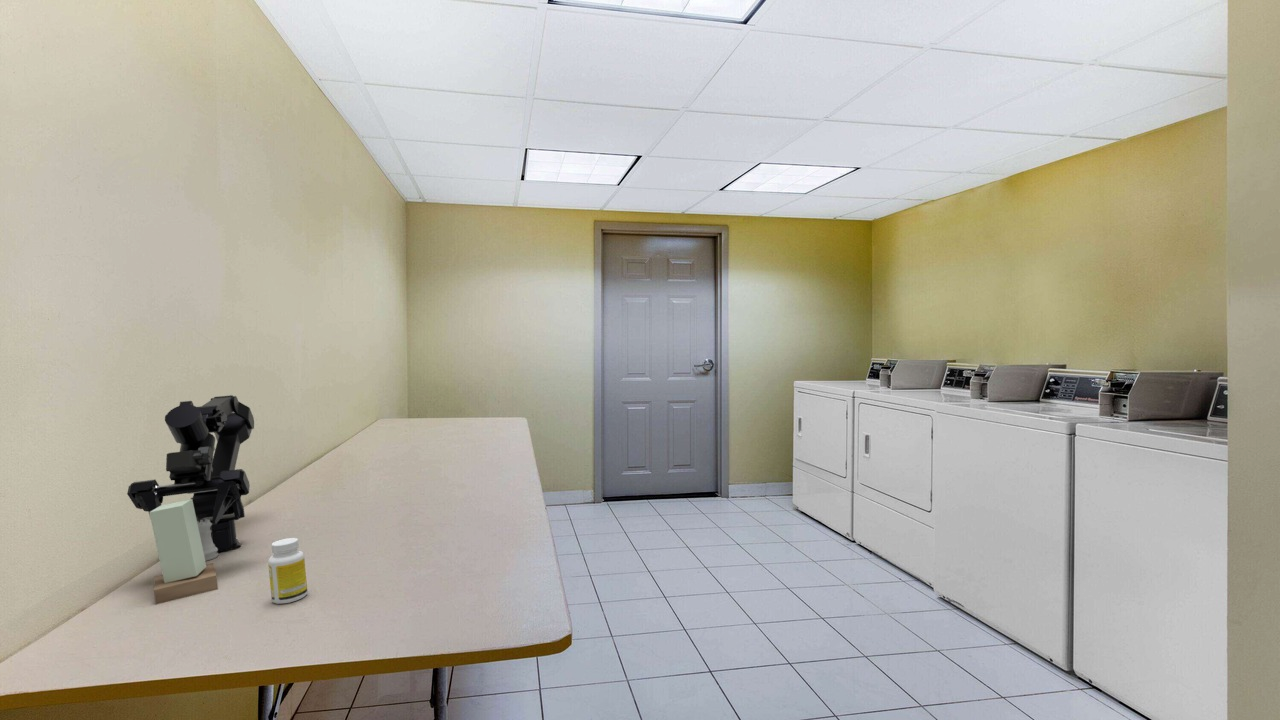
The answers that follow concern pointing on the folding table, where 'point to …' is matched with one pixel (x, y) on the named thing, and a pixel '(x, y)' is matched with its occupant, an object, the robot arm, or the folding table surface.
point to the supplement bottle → (287, 572)
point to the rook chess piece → (207, 540)
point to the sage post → (178, 540)
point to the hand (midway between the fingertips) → (185, 527)
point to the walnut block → (185, 585)
